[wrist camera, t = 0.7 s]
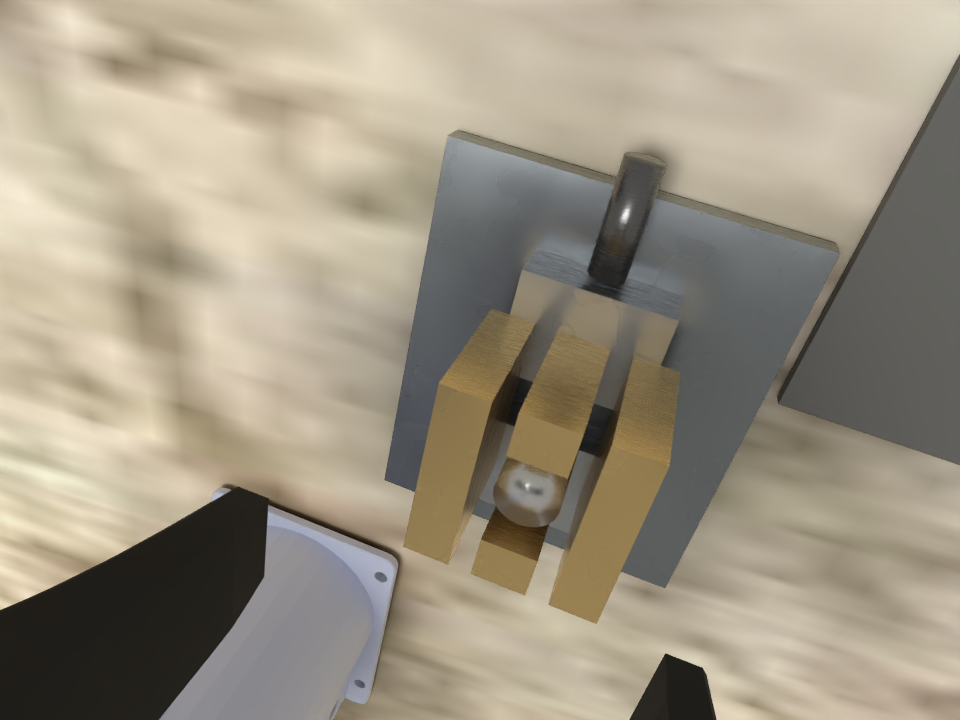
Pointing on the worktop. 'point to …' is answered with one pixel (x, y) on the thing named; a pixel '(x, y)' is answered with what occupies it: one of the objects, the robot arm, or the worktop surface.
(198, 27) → the worktop surface
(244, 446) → the worktop surface
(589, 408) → the tan slotted block
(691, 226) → the vise
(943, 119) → the mat
